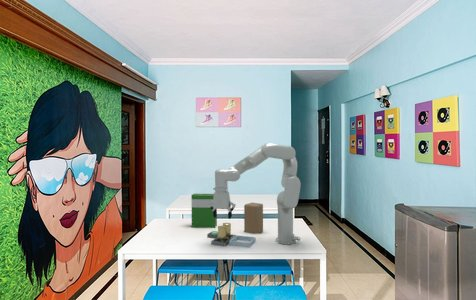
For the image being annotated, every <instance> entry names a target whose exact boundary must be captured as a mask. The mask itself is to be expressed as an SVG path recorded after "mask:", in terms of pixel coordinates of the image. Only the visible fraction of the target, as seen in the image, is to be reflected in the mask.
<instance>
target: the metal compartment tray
mask: <svg viewBox="0 0 476 300" xmlns="http://www.w3.org/2000/svg"><path fill="white" fill-rule="evenodd" d="M236 235H237V234H231V238H226V241H225V242H220V241H218V237H217V238H213V239H212V240H211V241H210V245H211V246H220V247H227V246H228V245H229V241H230V240H231V239H232V238H234V237H235V236H236Z"/></svg>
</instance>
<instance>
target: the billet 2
mask: <svg viewBox="0 0 476 300" xmlns="http://www.w3.org/2000/svg"><path fill="white" fill-rule="evenodd" d="M222 226H226V238H231V235H232V232H231V231H232V230H231V226H232V224H231V223H230V222H223V223H222Z"/></svg>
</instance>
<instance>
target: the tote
mask: <svg viewBox="0 0 476 300" xmlns="http://www.w3.org/2000/svg"><path fill="white" fill-rule="evenodd" d="M235 235H236V236H235V237H234V238H232V239H231V240H230V241H229V244H228V245H229V246H233V247H241V248H251V247H252V245H254V244H255V243H256V241H257V240H256V237H255V236H248V235H237V234H235ZM244 241H246V242H244Z"/></svg>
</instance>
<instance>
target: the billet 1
mask: <svg viewBox="0 0 476 300" xmlns="http://www.w3.org/2000/svg"><path fill="white" fill-rule="evenodd" d="M217 232H218V241H220V242H225V241H226V226H223V225H219V226H217Z"/></svg>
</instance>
